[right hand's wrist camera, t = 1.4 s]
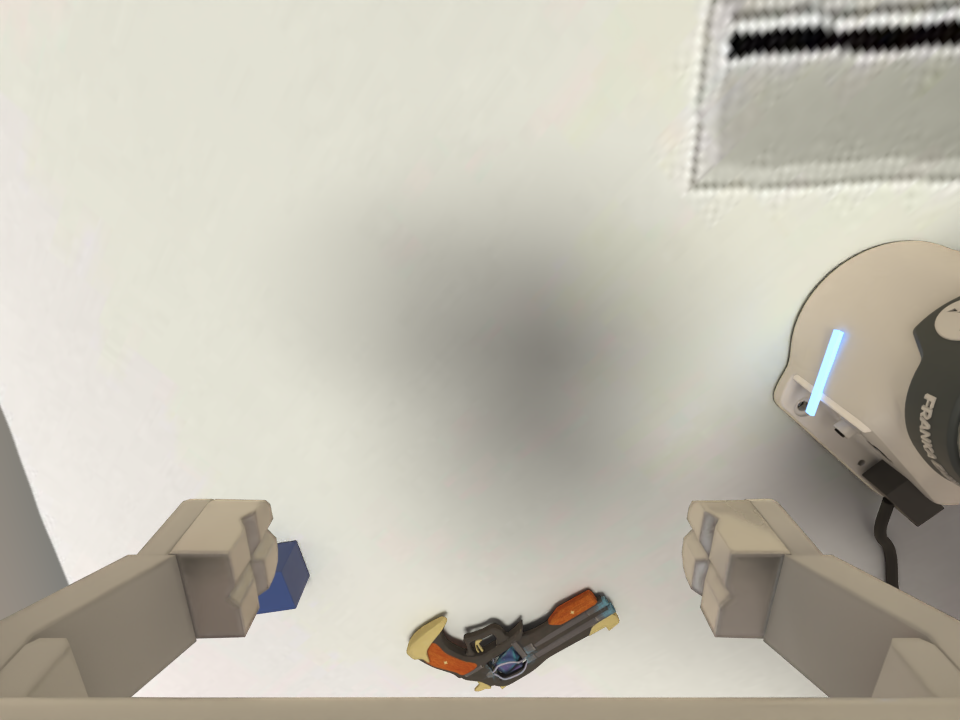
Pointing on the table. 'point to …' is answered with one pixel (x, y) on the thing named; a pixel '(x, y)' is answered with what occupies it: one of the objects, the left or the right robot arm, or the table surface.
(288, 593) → the block
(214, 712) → the right robot arm
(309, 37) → the table surface
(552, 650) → the toy gun
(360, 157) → the table surface
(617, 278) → the table surface
